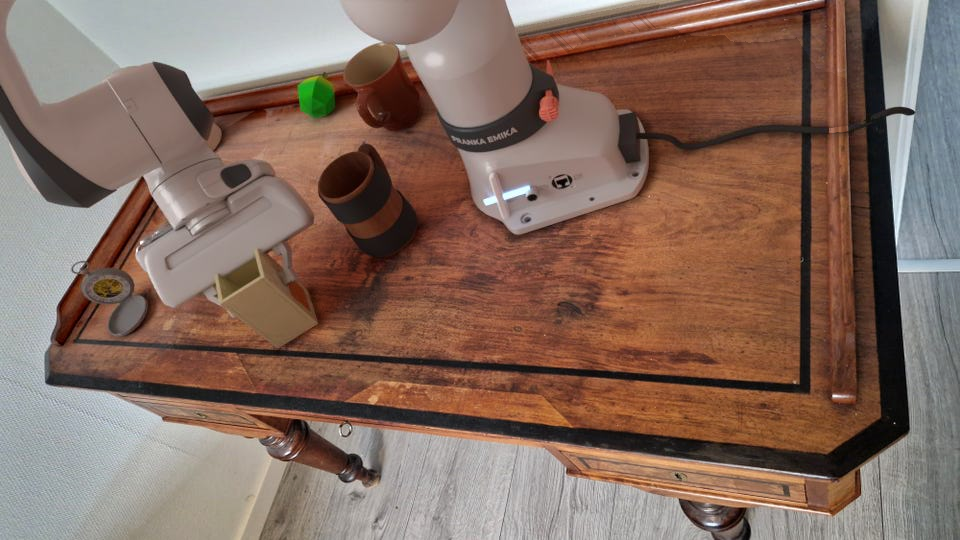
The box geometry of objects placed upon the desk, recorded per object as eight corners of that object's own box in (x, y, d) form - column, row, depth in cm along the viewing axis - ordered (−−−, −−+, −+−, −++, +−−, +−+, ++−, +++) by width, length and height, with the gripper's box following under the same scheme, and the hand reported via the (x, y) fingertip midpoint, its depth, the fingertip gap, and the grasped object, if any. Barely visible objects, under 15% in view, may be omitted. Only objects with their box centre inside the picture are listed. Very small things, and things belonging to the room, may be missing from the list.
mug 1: (386, 100, 102) (353, 47, 94) (436, 92, 99) (405, 36, 91) (364, 157, 96) (327, 107, 88) (416, 151, 93) (382, 98, 85)
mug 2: (428, 183, 88) (388, 121, 79) (415, 256, 81) (369, 197, 72) (373, 193, 91) (328, 134, 82) (355, 264, 84) (304, 209, 76)
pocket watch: (127, 344, 92) (67, 309, 85) (99, 325, 97) (41, 291, 90) (165, 297, 95) (111, 259, 88) (137, 281, 100) (83, 244, 92)
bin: (308, 290, 85) (256, 242, 77) (319, 323, 81) (265, 275, 73) (269, 315, 85) (212, 269, 77) (278, 348, 81) (219, 304, 73)
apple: (296, 90, 99) (310, 50, 104) (286, 115, 104) (300, 77, 109) (340, 109, 102) (352, 70, 106) (329, 133, 107) (341, 95, 111)
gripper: (114, 247, 74) (182, 349, 75) (265, 152, 74) (332, 255, 75) (141, 245, 81) (204, 339, 82) (281, 157, 80) (342, 252, 81)
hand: (266, 298), depth 78 cm, fingers closed on bin, 6 cm apart
